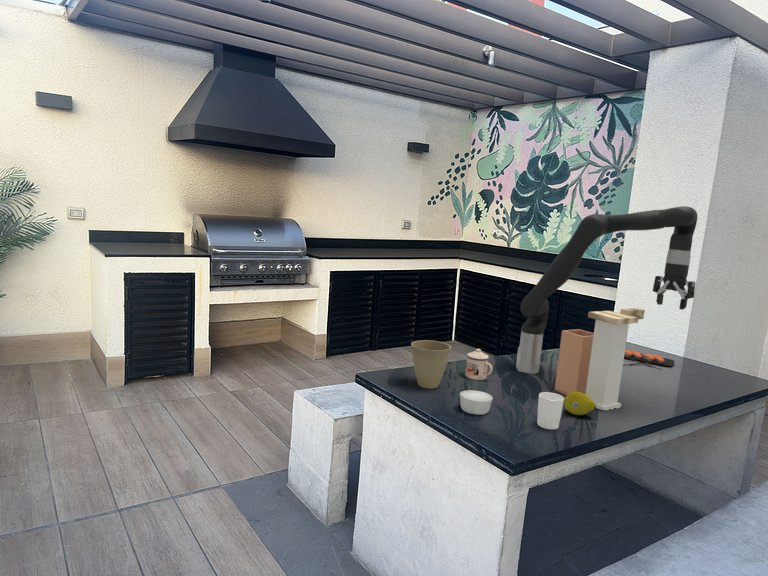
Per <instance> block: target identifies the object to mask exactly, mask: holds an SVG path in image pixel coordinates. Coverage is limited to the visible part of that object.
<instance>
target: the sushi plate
mask: <svg viewBox="0 0 768 576" xmlns="http://www.w3.org/2000/svg"><path fill="white" fill-rule="evenodd" d="M624 359H626V360H632V361H634V362H637V363H627V364H623V367H624V366H625V367H627V366H626V365H629V366H635V365H636V366H637V365H645V366H647V367H650V368H652V367H654V368H653V369H655V368H657V369H656V370H659V369H660V371H662V370H663V369H661V368H659V367H656V366H653V365H657V364H658V366H664V367H666V366H667V367H672V366H674V364H675V360H674V359H670V358H666V357H662V356H660V355H658V354H650V353H640V352H638V351H636V350H628V349H625V354H624ZM637 360H638V361H637ZM642 361H643V362H642ZM652 363H653V364H652ZM649 364H652V365H649Z"/></svg>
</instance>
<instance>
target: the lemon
mask: <svg viewBox="0 0 768 576" xmlns="http://www.w3.org/2000/svg"><path fill="white" fill-rule="evenodd" d="M563 405H564V408H565V410H566V411H567V412H568V413H570V414H571V415H574V416H585V415H587V414H589V413H590V412H593V411H594V410H595V409H596V408H595V406H596V404H595V402H593V400H592V399H591V398H590V397H589V396H587V395H586V394H584V393H581V392H575V391H574V392H570V393H569V394H568V395H565V397H564V403H563Z"/></svg>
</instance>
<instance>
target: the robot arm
mask: <svg viewBox="0 0 768 576" xmlns="http://www.w3.org/2000/svg"><path fill="white" fill-rule="evenodd" d="M697 222H698V212H697V211H696V210H695V209H694V208H693V207H691V206H684V205H683V206H675V207H669V208H665V209H653V210H652V209H651V210H645V211H638V212H631V213H625V214H601V213H600V214H599V213H593V214H590V215H586V216H585V217H584V218H583V219H582V220H581V221H580V223H579V224H578V226H577V228H576V230H575V232H574V233H573V235H572V237H571V238H570V240H569V241H568V242H567V244H566V245H564V247H563V248H562V249H561V250H560V252H559V253H558V254H557V255H556V257H555V258H554V259H553V261H552V262H551V264H549V266H548V268H547V269H546V271H545V272H544V273H543V275H542V276H541V278H540V279H539V281H538V282H537V283H536V284H535V286H534V287H532V289H531V291H530V292H528V293H527V294H526V296H525V297H524V298H523V299H522V301H521V303H520V312H521V314H522V315H523V316H524V317H527V319H526V321H525V322H524V323H523V324H522V325H521V329H520V332H521V333H520V341H519V346H518V347H517V354H516V365H515V368H516V370H517V372H520V373H523V374H530V375H534V374H538V373H539V370H540V364H541V355H542V347H543V338H544V330H545V329H546V327H547V323H548V318H549V311H550V304H549V300H548V299H549V297H550V296H551V295H552V294H553V293H555V292H556V291H558V289H560V288H561V287H562V286H563V285H565V284H566V283H567V281H568V280H570V278H571V277H572V276H573V274H574V273H575V271H576V270H577V269H578V267H579V266H580V263H581V261H582V259H583V256H584V255H585V252H586V251H587V250H588V248H589V247H590V246H591V245H593V243H594V242H595V241H596V240H597V239H598V238H601V237H603V236H604V235H608V234H611V233H616V232H622V231H623V232H624V231H650V230H661V229H664V228H674V229H673V233H672V234H671V236H670V239H669V245H668V251H667V254H666V259H665V266H664V271H663V276H662V275H655V277H654V280H653V281H654V282H653V285H652V287H653V288H652V292H654V293H656V294H657V295H656V304H657V305H659V306H660V305H663V302H664V297H665V296H664V293H666V291H673V292H677V293H678V294H679V296H680V297H681V299H680V302H679V307H678V308H679V310H685V309H686V308H687V305H688V300H690V299H693V298H695V292H696V282H695V281H693V280H691V281H689V280H687V278H688V275H689V269H690V264H691V251H692V245H693V237H694V234H695V229H696V226H697ZM662 282H663V284H662ZM661 284H662V285H661ZM685 286H686V287H687V289H686V287H685Z"/></svg>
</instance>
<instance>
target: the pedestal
mask: <svg viewBox="0 0 768 576" xmlns="http://www.w3.org/2000/svg"><path fill="white" fill-rule="evenodd" d="M629 327H630V324H619V325H616V324H612V323H608V322H604V321H600V320H596V319H595V323H594V331H593V333H594V336H593V344H592V351H591V358H590V365H589V372H588V380H587V387H586V395H587V396H589V397H590V398H591V399H592V400H593V402H595V404H596V406H595V407H596V408H595V409H597V408H598V409H597V410H599V409H601V410H606V411H610V410H609V409H611V410H615V409H614V408H616V409H620V407H621V408H622V403H620V402H618V400H619V393H620V388H621V387H620V386H621V379H622V372H623V367H624V366H623V365H624V361H625V360H624V359H625V358H624V354H625V350H626V347H627V346H626V345H627V341H628V332H629ZM601 410H600V411H601Z"/></svg>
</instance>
